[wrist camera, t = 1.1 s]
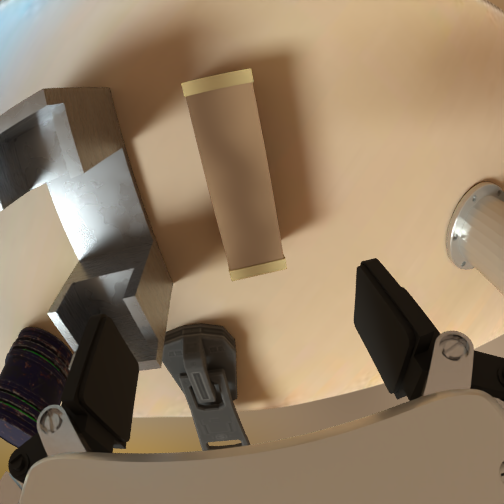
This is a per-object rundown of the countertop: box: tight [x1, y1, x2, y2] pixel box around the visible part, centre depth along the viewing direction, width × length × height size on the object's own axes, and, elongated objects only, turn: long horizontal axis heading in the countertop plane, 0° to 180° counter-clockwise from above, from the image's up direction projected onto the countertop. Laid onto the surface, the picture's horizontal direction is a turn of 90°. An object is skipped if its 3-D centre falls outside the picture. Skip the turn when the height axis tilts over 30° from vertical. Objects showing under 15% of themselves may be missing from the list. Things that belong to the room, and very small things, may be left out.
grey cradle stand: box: [0, 87, 173, 371], centre depth 20 cm, size 8×20×11 cm, turn 11°
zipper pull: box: [162, 324, 250, 451], centre depth 37 cm, size 9×7×25 cm
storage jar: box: [0, 327, 73, 448], centre depth 27 cm, size 10×10×15 cm
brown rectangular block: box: [181, 68, 287, 281], centre depth 23 cm, size 5×16×5 cm, turn 11°
